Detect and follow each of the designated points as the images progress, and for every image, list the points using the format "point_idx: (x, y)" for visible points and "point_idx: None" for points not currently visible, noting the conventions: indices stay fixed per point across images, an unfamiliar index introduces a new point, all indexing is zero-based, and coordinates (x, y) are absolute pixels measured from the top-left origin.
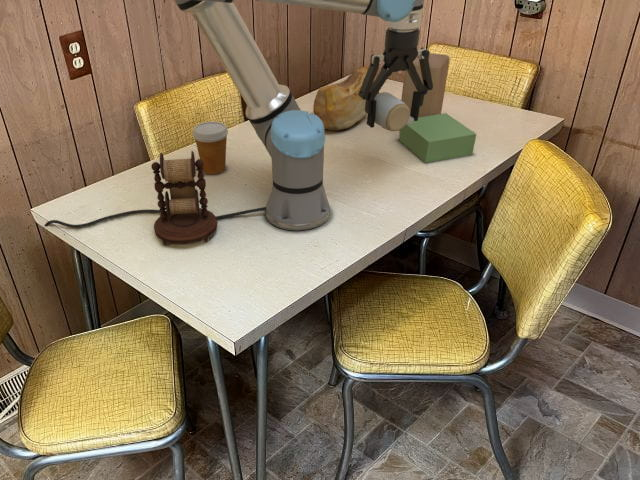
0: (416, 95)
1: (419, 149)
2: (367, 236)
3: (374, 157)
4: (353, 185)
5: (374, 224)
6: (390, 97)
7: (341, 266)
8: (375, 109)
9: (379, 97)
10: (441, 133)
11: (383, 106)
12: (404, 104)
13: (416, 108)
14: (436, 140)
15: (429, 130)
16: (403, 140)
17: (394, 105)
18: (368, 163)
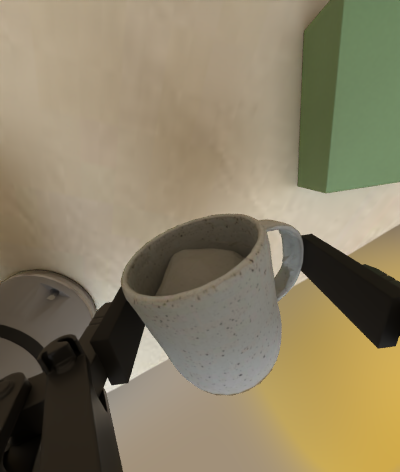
0: (373, 324)
1: (308, 154)
2: (141, 357)
3: (208, 133)
4: (142, 244)
5: (153, 339)
6: (216, 356)
7: (107, 391)
8: (138, 342)
9: (159, 328)
10: (388, 147)
11: (170, 359)
12: (261, 381)
13: (327, 295)
14: (347, 189)
15: (373, 116)
16: (307, 60)
17: (211, 392)
18: (187, 161)
